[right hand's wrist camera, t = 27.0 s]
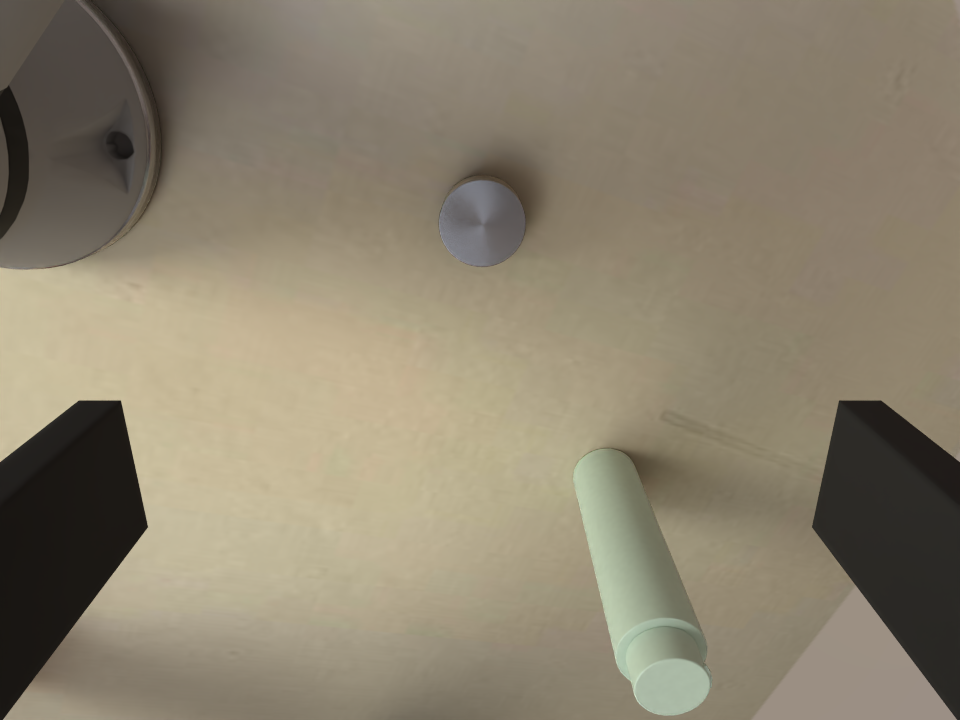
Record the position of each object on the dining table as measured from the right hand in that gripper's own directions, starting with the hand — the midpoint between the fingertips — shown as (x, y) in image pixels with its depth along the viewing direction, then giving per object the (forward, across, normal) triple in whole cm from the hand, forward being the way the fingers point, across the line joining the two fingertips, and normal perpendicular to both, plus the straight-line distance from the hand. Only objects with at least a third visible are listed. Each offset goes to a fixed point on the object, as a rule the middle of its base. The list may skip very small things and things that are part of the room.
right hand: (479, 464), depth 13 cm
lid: (+26, 0, 0) cm, 26 cm away
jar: (+27, +8, -17) cm, 33 cm away
